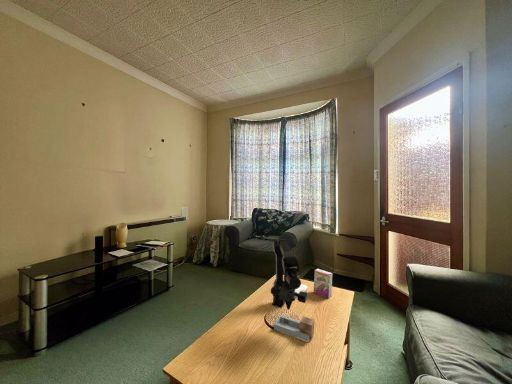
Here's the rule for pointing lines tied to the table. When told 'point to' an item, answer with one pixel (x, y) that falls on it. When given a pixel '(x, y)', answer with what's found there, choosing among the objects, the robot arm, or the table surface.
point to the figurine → (301, 287)
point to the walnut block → (307, 326)
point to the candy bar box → (323, 283)
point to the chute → (290, 328)
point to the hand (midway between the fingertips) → (288, 309)
